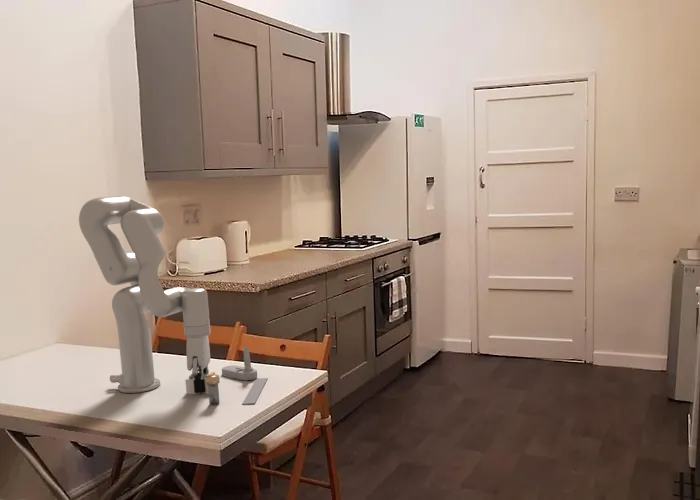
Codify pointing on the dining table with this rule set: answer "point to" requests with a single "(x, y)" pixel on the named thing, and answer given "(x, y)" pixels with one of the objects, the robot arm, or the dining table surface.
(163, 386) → the dining table surface
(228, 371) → the electronic device
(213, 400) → the knob
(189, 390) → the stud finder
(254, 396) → the strip
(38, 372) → the dining table surface
